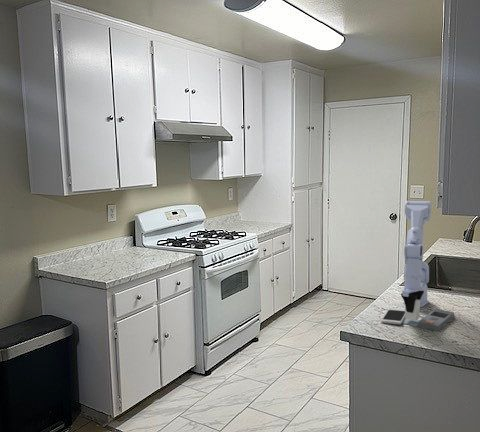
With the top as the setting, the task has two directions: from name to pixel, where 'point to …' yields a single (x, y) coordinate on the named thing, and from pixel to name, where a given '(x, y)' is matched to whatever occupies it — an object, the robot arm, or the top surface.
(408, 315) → the charger plug
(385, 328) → the top surface
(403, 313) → the smartphone
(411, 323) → the sticky note
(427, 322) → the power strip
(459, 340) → the top surface
